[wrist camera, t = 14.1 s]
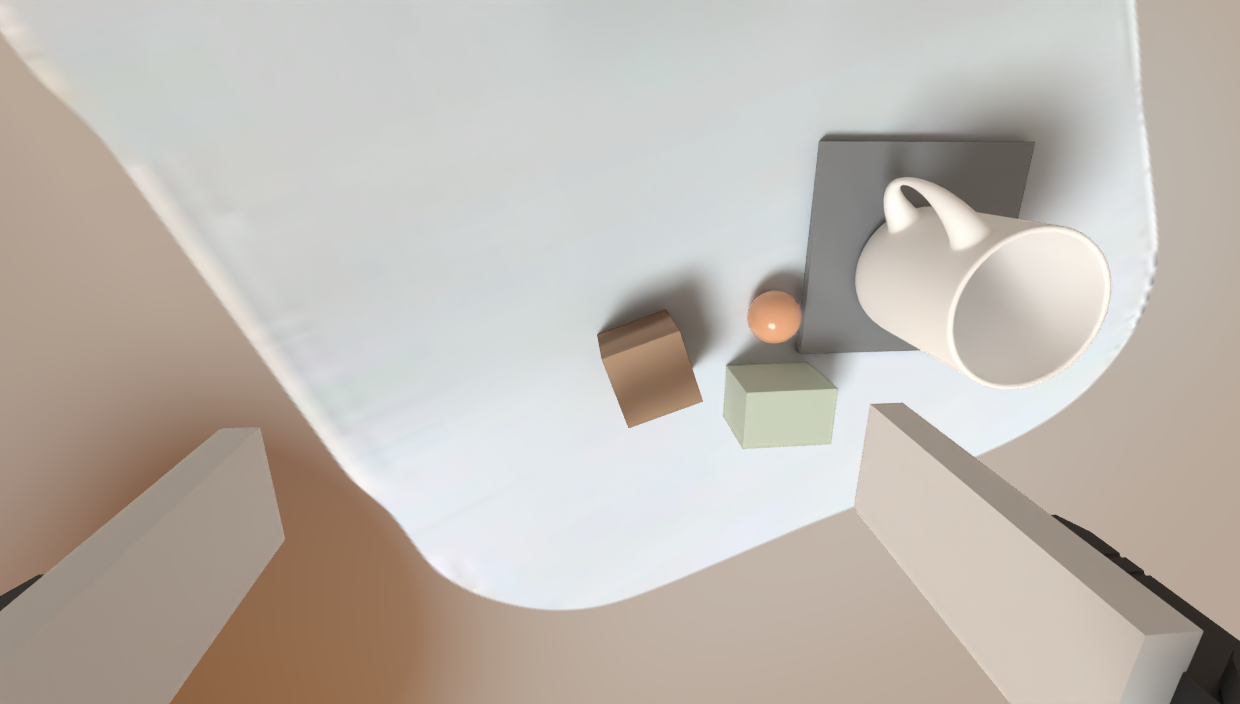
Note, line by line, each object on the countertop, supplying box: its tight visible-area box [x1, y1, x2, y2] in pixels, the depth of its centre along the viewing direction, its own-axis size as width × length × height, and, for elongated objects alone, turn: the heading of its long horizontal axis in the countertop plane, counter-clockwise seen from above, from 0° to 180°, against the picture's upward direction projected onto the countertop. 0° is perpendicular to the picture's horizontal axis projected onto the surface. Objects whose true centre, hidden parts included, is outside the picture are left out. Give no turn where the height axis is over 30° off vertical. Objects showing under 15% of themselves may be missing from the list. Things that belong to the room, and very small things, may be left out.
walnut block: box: [597, 310, 703, 428], centre depth 38 cm, size 5×5×5 cm
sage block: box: [723, 362, 838, 449], centre depth 40 cm, size 4×6×5 cm, turn 90°
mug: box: [855, 177, 1111, 389], centre depth 34 cm, size 9×12×11 cm
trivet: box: [796, 141, 1035, 354], centre depth 40 cm, size 14×14×1 cm
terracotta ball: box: [747, 291, 802, 343], centre depth 39 cm, size 4×4×4 cm
